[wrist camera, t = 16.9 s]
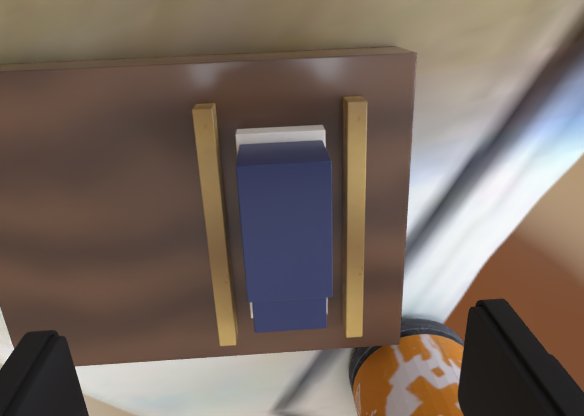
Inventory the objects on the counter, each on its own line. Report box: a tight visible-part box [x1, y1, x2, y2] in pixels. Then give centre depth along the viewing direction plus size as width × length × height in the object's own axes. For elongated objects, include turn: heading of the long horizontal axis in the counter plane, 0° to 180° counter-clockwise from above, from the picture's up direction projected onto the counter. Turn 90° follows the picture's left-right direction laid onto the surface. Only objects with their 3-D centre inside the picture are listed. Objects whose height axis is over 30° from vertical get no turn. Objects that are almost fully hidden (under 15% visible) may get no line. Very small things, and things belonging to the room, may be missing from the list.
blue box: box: [235, 125, 333, 333], centre depth 25 cm, size 11×4×5 cm, turn 2°
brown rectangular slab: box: [0, 47, 417, 366], centre depth 28 cm, size 18×24×6 cm
